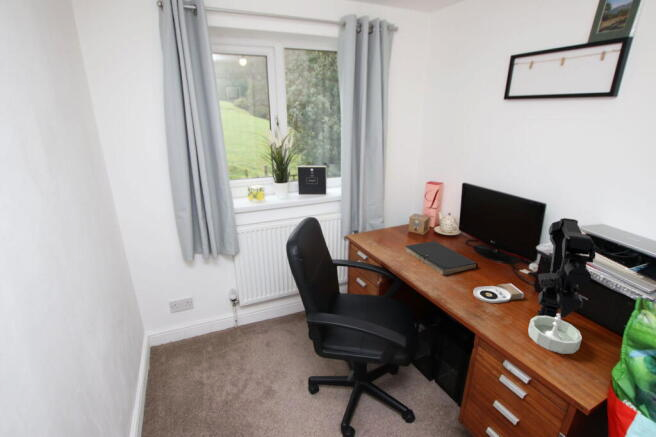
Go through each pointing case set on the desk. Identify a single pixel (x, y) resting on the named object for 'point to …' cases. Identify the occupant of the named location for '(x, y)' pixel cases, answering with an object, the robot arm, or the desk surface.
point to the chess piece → (555, 328)
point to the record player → (498, 293)
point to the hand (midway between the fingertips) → (560, 310)
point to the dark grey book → (440, 257)
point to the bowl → (565, 345)
